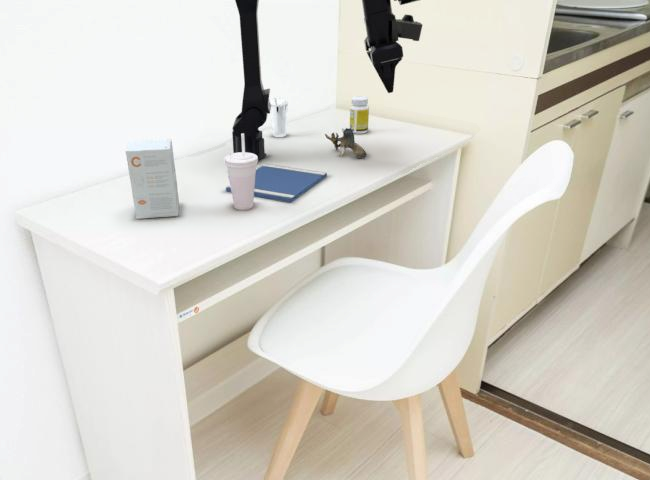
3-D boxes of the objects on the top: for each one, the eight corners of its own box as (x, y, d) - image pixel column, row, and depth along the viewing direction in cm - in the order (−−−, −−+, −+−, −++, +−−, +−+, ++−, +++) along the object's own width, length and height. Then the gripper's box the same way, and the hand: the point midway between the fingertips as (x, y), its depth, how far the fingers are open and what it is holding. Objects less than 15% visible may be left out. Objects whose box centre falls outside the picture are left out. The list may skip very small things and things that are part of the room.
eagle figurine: (320, 151, 151) (350, 151, 145) (327, 121, 151) (358, 119, 145) (339, 162, 157) (369, 162, 151) (346, 133, 157) (376, 132, 151)
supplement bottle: (370, 130, 169) (372, 97, 164) (363, 135, 166) (364, 100, 161) (354, 128, 171) (355, 95, 167) (346, 132, 168) (347, 98, 163)
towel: (226, 191, 133) (225, 187, 133) (266, 167, 146) (266, 163, 146) (290, 202, 127) (290, 198, 127) (326, 176, 140) (326, 172, 139)
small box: (179, 204, 128) (172, 138, 121) (178, 216, 123) (171, 148, 116) (138, 207, 127) (128, 140, 120) (135, 219, 122) (125, 150, 115)
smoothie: (259, 212, 124) (256, 138, 116) (225, 212, 124) (220, 139, 116) (260, 199, 129) (257, 128, 121) (228, 200, 129) (223, 129, 122)
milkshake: (267, 138, 165) (266, 97, 160) (273, 132, 169) (272, 93, 164) (284, 139, 164) (284, 98, 158) (290, 133, 168) (290, 93, 163)
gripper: (424, 6, 125) (432, 88, 133) (410, -4, 141) (418, 70, 149) (366, 20, 127) (378, 101, 135) (359, 9, 142) (370, 82, 151)
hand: (388, 87), depth 142 cm, fingers open, 9 cm apart
